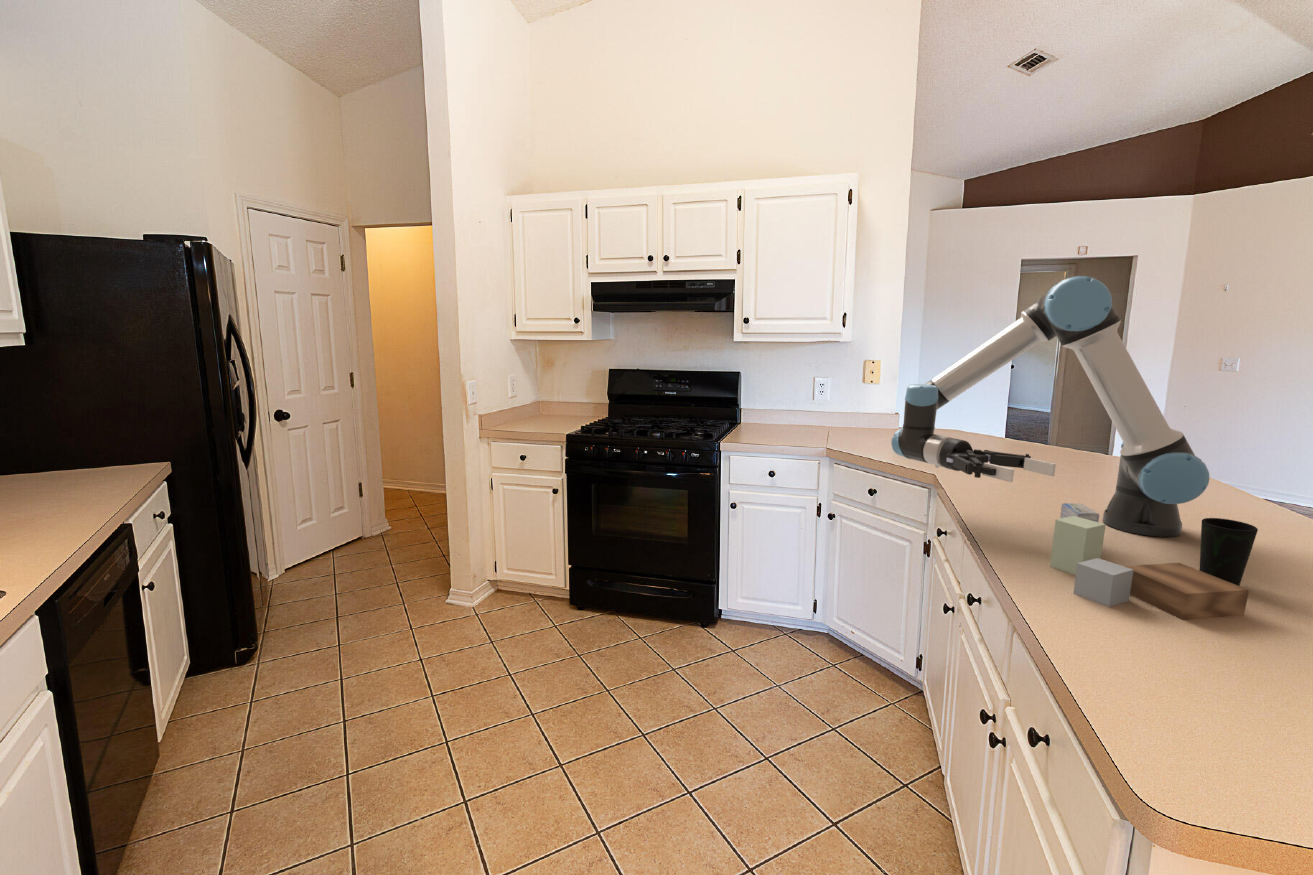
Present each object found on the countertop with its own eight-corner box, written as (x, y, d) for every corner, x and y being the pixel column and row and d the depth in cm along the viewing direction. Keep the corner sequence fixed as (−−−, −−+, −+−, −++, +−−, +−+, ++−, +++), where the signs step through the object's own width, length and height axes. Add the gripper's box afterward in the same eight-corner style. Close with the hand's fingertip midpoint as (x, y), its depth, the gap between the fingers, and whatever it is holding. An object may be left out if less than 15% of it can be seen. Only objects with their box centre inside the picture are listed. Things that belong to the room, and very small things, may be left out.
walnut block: (1174, 587, 114) (1179, 562, 113) (1243, 617, 102) (1248, 589, 101) (1118, 591, 112) (1122, 566, 112) (1182, 621, 101) (1186, 593, 100)
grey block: (1093, 588, 113) (1097, 557, 112) (1128, 601, 108) (1133, 569, 107) (1073, 593, 111) (1077, 563, 110) (1108, 607, 105) (1113, 575, 104)
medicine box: (1095, 551, 131) (1100, 513, 130) (1072, 550, 132) (1077, 512, 130) (1078, 539, 139) (1083, 503, 137) (1056, 538, 140) (1061, 502, 138)
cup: (1232, 579, 117) (1243, 520, 115) (1255, 595, 110) (1268, 532, 108) (1183, 573, 119) (1193, 516, 117) (1203, 589, 112) (1214, 528, 110)
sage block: (1068, 561, 126) (1074, 515, 124) (1098, 572, 120) (1105, 524, 119) (1049, 566, 123) (1055, 519, 121) (1080, 577, 118) (1087, 528, 116)
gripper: (982, 463, 152) (1067, 484, 133) (909, 472, 142) (991, 496, 123) (985, 434, 151) (1072, 451, 132) (912, 441, 141) (996, 460, 122)
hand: (1033, 472), depth 128 cm, fingers open, 13 cm apart
